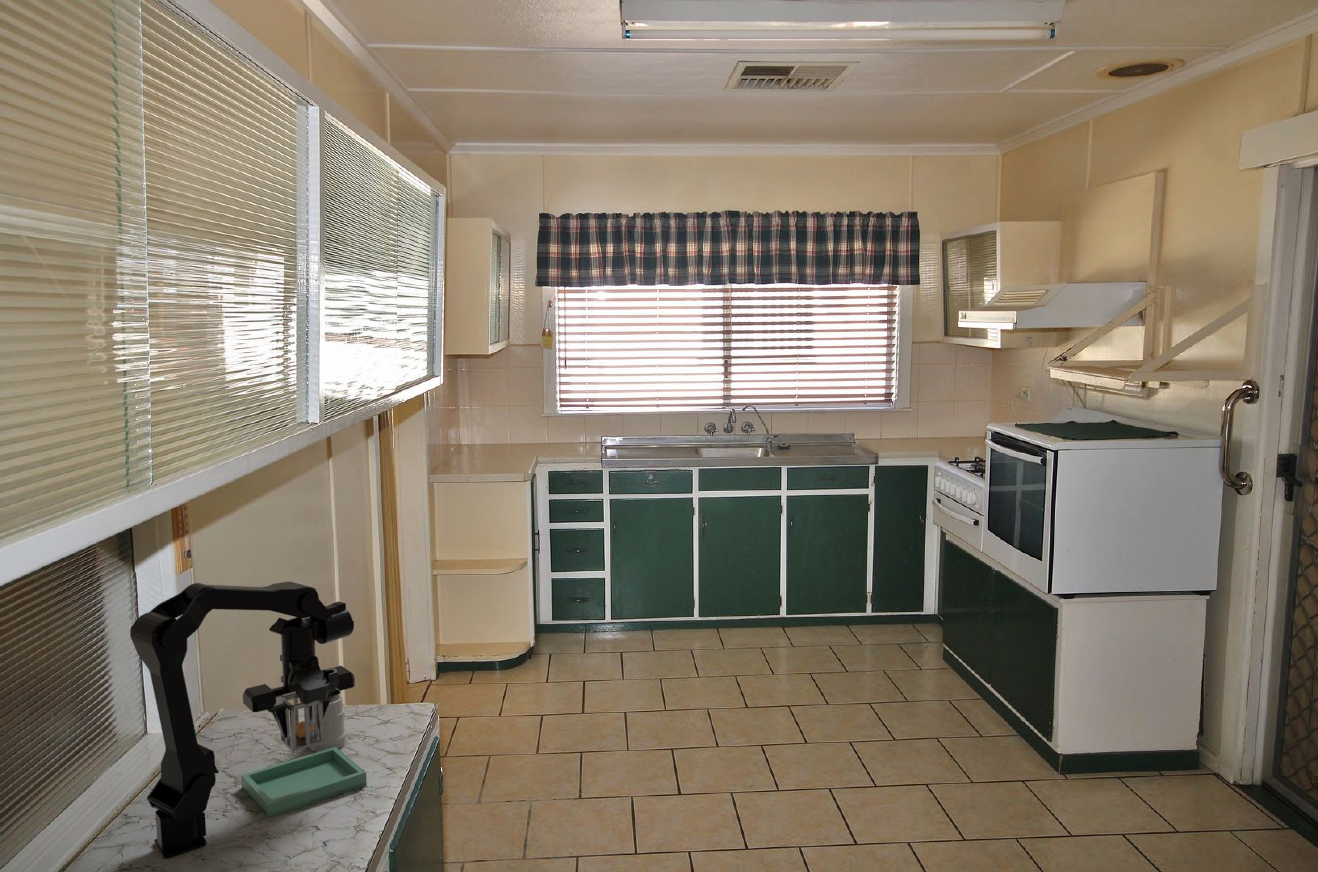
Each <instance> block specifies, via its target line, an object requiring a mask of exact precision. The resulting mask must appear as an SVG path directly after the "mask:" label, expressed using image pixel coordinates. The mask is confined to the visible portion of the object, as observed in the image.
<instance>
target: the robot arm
mask: <svg viewBox="0 0 1318 872" xmlns="http://www.w3.org/2000/svg"><path fill="white" fill-rule="evenodd" d="M213 610H226V611H227V610H229V611H230V610H231V611H232V610H233V611H234V610H235V611H270V612H275V613H279V614H283V615H285V616H286V615H287V616H290V617H293V618H290V619H286V618H282V617H278V618H277V619H276V621H275V622H274V623H273V624H272V625H271V626H270V627H269V629H268V630H269V632H272V633H275V634H278V635H280V639H281V640H280V641H281V654H280V655H279V661H280V662H281V663H282V675H281V676H280V683H282V684H283V685H282V686H277V687H275V688H274V687H273V688H271V687H270V686H268V685H267V684H266V683H264V684H260V685H254V686H250V687H247V688H245V690H244V692H243V694H242V703H243V705H244V706H246V707H247V708H248V709H249V710H250V711H251V712H252V713H260V712H263V711H267V712H268V713H271V715H272V716H273V719H274V721H275V722H276V725H277V728H278V729H279V731H281V732H280V734H281V733H282V735H283V737H284V738H287V723H286V716H285V711H286V708H287V707H286V706H285V705H284V704H283V703H282V697H286V696H290V695H294V694H297V696H298V697H299V698H298V700H299V701H300V703H303V704H310V703H311V702H314V701H318V700H322V701H323V719H324V716H325V713H326V710H327V707H328V705H329V703H330V701H331V700H332V699H333V698H334V697H335V696H336V695H339V694H340V695H341V691H345V690H348V689H351V688H352V689H353V688H354V687H355V686H356V681H355V675H354V673H352V671H350V670H348V669H347V668H345V667H344V666H343V665H338V666H334V667H330V668H325V669H322V668H321V667H320V663H319V657H318V656H316V642H317V643H318V644H320V645H325V644H327V643H330V642H334V641H337V640H340V639H344V638H346V637H349V636H351V634H352V633H353V632H354V629H355V621H354V620H353V617H352V615H351V613H350V611H349V610H348V609H347V603H345V602H342V601H336V602H333V603H331V604H328V605H326V606H325V605H324V603H323V602H322V601H321V599H320V596H319V592H318V591H317V589H316V588H315V587H312V586H309V585H305V584H301V583H297V582H293V581H282V582H277V583H272V584H270V585H267V586H245V585H243V586H241V585H225V584H224V585H222V584H220V585H219V584H217V585H216V584H204V583H201V582H196V583H191V584H189V585H188V586H186V587H185V588H184V589H183V590H182V591H181V592H179V593H177V594H176V595H173V596H172V597H170V598H168V599H166V600H164V601H162V602H160V603H159V604H157V605H156V606H155V607H153V608H152V609H151V610H150V611H149V612H146V613H143V614H141V615H140V616H139V617H137V618H136V619H135V621H134V623H133V625H131V627H130V629H129V632H130V636H129V637H130V639H131V642H132V644H133V646H134V648H135V651H136V653H137V655H138V656H139V657H140V660H141V661H142V662H143V663H144V665H145V666H146V668H147V670H148V672H149V675H150V679H151V684H152V687H153V693H154V694H153V695H154V698H155V703H156V708H157V709H156V710H157V712H158V713H157V714H158V719H159V722H160V727H161V732H162V736H163V741H164V746H165V751H164V753H163V757H162V760H161V762H160V778H159V779H158V780H157V782H156V784H155V785H154V786H153V788H152V790H151V791H150V792H149V794H147V796H146V800H147V802H148V804H149V806H150V807H151V808H153V809H156V810H155V825H156V826H155V827H156V828H155V829H156V838H154V845H155V846H156V847H157V849H158V851H159V853H160V854H161V855H162V857H163V858H164V859H167V858H171V857H173V856H177V855H180V854H183V853H185V852H188V851H191V850H192V851H193V850H194V849H197V848H201V847H203V846H206V845H207V840H206V838H205V837H206V836H207V826H206V825H207V823H206V812H205V811H206V810H207V806H208V802H209V798H210V796H211V792H212V789H213V787H215V786H216V782H217V779H216V774H219V770H218V769H217V767H216V761H215V760H216V758H215V757H216V756H215V752H214V750H212V749H210V748H209V747H208V748H207V747H206V746H204V745H201V744H199V743H198V739H197V734H196V729H195V724H194V723H195V722H194V719H193V714H192V707H191V703H190V698H189V694H188V688H187V684H186V678H185V673H184V669H183V663H184V661H185V658H186V655H187V653H188V638H190V637H191V636H192V635H193V634H194V633H195V632H197V630H198V629H199V628H200V627H201V625H202V623H203V621H204V620H205V619H206V616H207V615H208V614H209V613H210V612H211V611H213ZM317 711H318V704H317ZM318 729H319V715H318Z"/></svg>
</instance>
